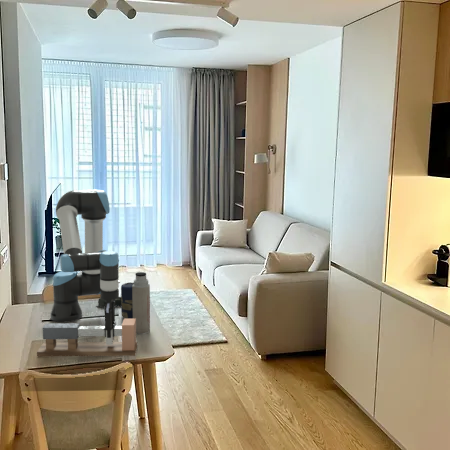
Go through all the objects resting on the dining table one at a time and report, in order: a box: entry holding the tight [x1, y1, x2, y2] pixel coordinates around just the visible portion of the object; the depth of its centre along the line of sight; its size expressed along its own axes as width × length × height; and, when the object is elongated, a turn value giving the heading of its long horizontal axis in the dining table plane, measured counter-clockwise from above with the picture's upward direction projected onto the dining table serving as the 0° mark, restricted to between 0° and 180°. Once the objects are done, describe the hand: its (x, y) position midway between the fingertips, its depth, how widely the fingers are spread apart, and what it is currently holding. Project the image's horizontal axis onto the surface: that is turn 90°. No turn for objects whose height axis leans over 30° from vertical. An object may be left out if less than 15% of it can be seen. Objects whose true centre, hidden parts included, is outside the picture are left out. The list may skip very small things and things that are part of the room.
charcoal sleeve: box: [42, 322, 81, 340], centre depth 215 cm, size 5×14×5 cm, turn 94°
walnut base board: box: [36, 338, 139, 358], centre depth 216 cm, size 10×40×6 cm, turn 94°
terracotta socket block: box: [121, 318, 137, 350], centre depth 217 cm, size 8×5×11 cm, turn 4°
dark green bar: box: [95, 296, 121, 308], centre depth 275 cm, size 5×3×15 cm
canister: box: [120, 282, 134, 319], centre depth 258 cm, size 10×10×18 cm
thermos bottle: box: [132, 271, 151, 335], centre depth 239 cm, size 8×8×28 cm
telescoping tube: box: [77, 324, 122, 338], centre depth 216 cm, size 4×30×4 cm, turn 94°
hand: (110, 341), depth 217 cm, fingers closed on telescoping tube, 4 cm apart
